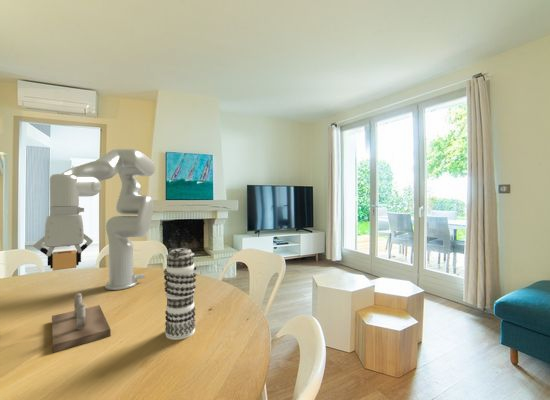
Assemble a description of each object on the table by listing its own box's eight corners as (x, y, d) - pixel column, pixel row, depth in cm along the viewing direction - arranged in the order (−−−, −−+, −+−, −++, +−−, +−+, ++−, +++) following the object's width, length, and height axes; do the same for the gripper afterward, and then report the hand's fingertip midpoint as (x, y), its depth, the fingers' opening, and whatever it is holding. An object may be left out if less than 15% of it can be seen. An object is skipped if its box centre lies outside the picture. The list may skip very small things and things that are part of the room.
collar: (75, 264, 93) (75, 249, 93) (76, 267, 88) (76, 252, 88) (53, 266, 89) (53, 251, 89) (52, 270, 84) (52, 255, 84)
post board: (99, 310, 95) (99, 284, 95) (110, 335, 78) (110, 303, 78) (51, 321, 87) (51, 292, 87) (52, 352, 70) (52, 316, 70)
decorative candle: (171, 324, 85) (171, 246, 85) (200, 325, 85) (200, 246, 85) (158, 340, 76) (157, 252, 76) (190, 340, 76) (190, 253, 76)
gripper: (95, 210, 97) (95, 260, 97) (30, 211, 86) (30, 267, 86) (97, 211, 91) (97, 264, 91) (28, 213, 80) (28, 273, 80)
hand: (64, 265), depth 89 cm, fingers closed on collar, 5 cm apart
